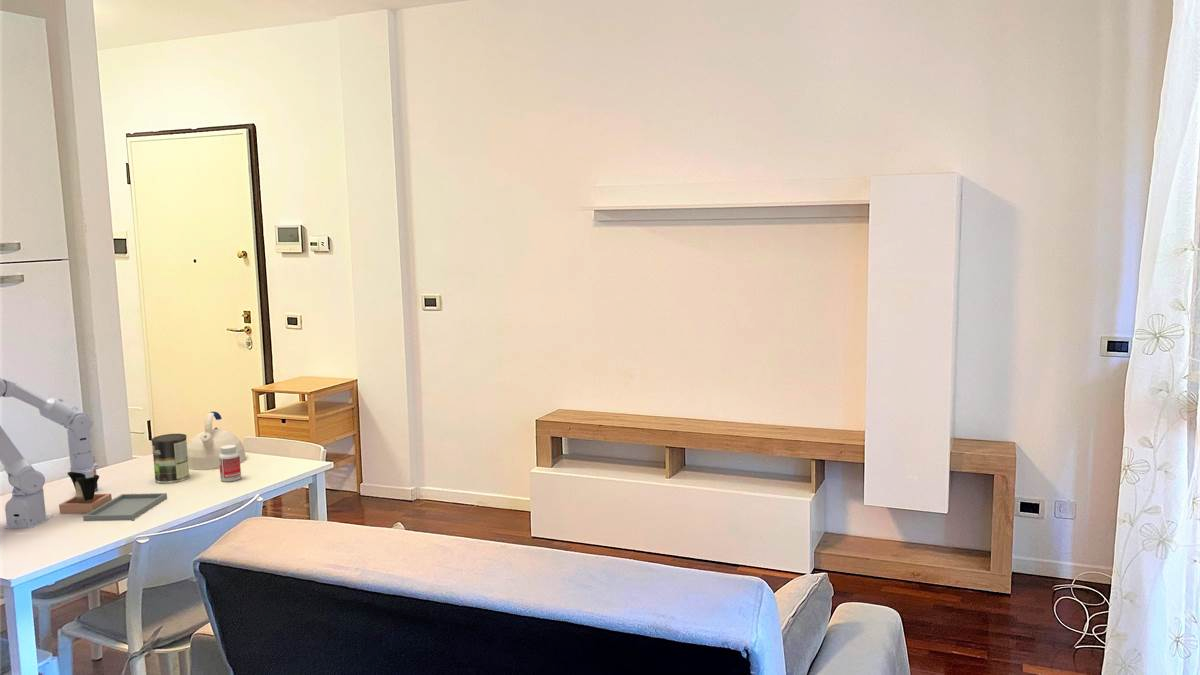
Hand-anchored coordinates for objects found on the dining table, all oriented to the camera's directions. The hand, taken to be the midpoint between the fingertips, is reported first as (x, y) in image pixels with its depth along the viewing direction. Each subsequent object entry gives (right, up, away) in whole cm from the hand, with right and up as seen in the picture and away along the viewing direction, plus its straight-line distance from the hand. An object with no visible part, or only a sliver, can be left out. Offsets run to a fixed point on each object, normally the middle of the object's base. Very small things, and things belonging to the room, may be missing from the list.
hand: (85, 496), depth 247 cm
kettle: (+16, +3, +49) cm, 52 cm away
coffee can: (+11, 0, +29) cm, 31 cm away
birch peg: (0, -3, 0) cm, 3 cm away
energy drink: (-9, -2, +16) cm, 19 cm away
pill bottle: (+31, 0, +27) cm, 41 cm away
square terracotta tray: (0, -4, 0) cm, 4 cm away
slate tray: (+13, -4, -1) cm, 14 cm away
